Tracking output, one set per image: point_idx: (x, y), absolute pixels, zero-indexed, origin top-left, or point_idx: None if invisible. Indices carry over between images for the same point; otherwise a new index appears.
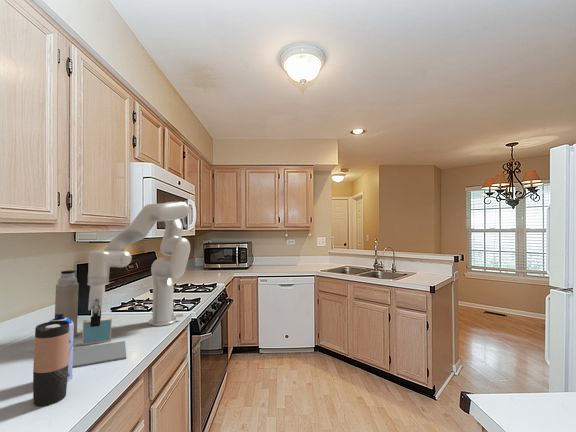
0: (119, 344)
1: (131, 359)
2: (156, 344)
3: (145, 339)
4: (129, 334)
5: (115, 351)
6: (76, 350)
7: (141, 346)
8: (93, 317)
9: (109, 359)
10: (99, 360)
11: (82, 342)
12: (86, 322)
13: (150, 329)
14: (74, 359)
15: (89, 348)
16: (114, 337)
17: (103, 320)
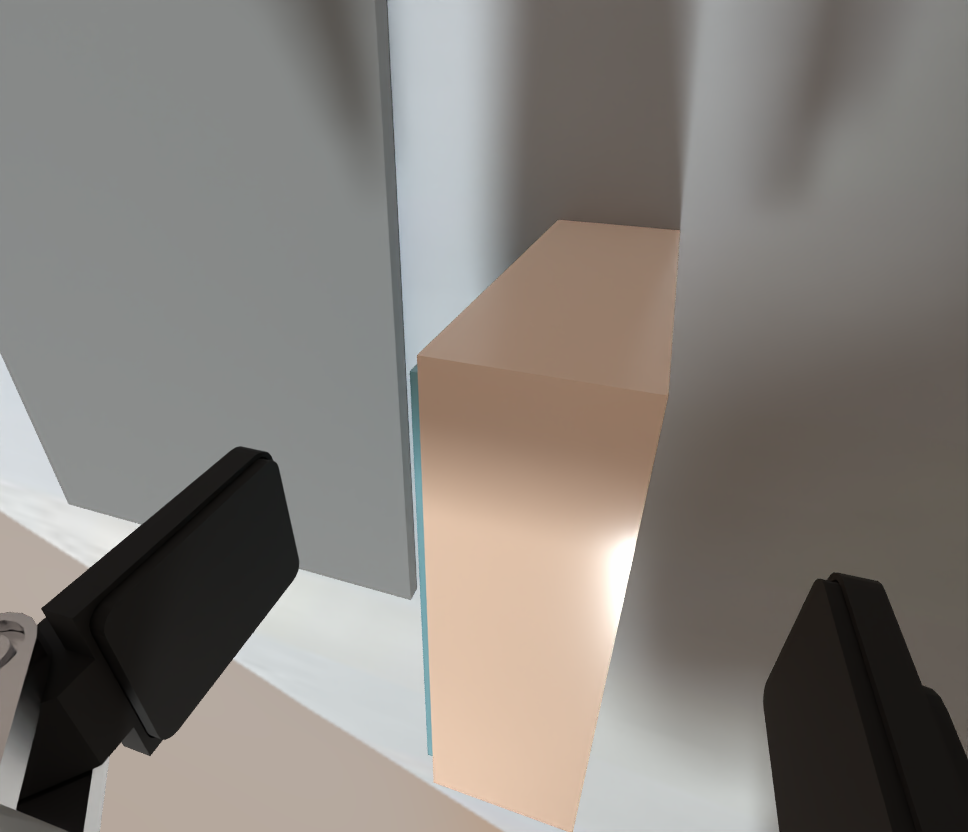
0: (330, 543)
1: (68, 513)
2: (287, 691)
3: (423, 699)
4: (657, 690)
5: (174, 478)
6: (289, 153)
7: (278, 628)
8: (42, 624)
9: (30, 411)
10: (13, 349)
11: (547, 233)
12: (427, 431)
13: (693, 829)
14: (34, 145)
15: (310, 302)
16: (650, 575)
17: (433, 692)
